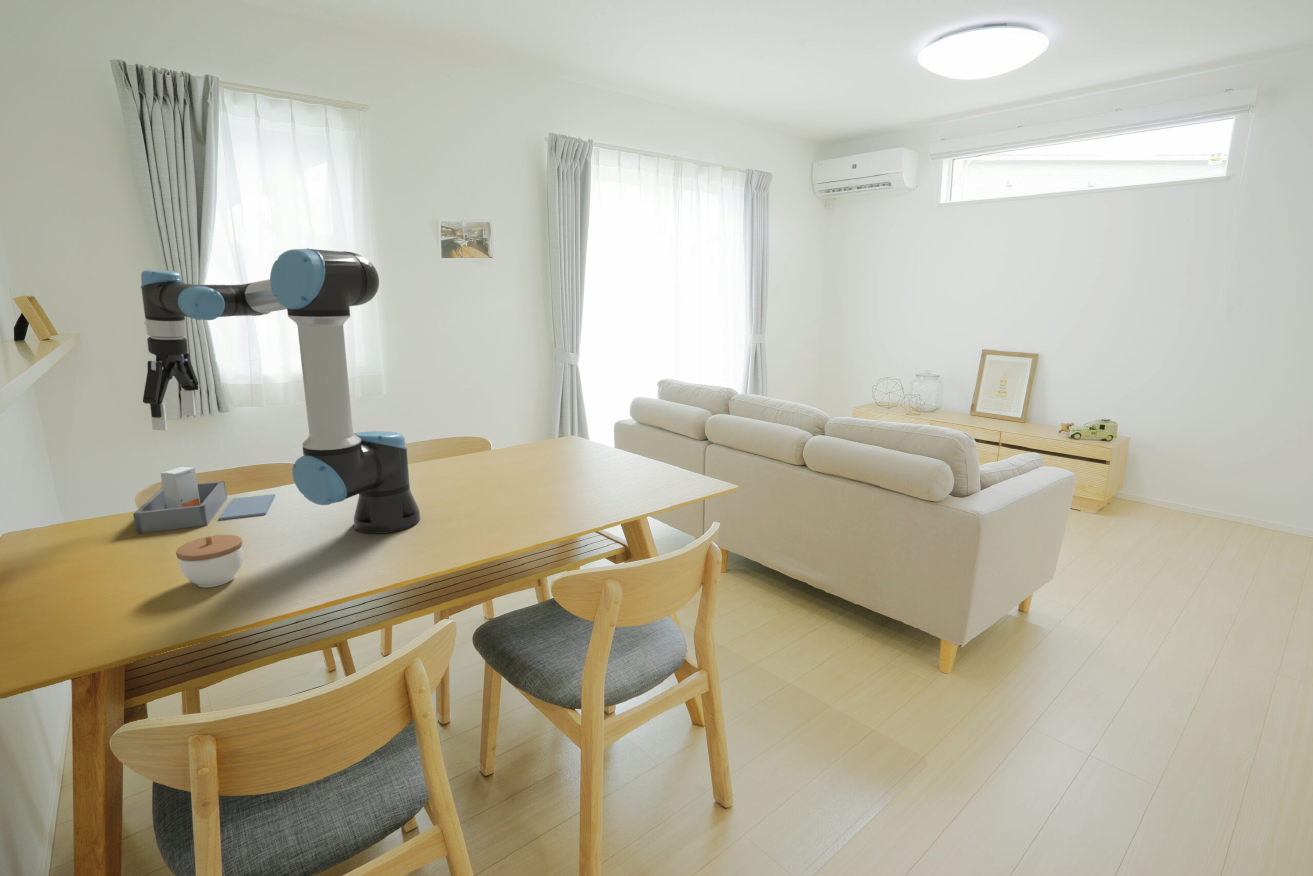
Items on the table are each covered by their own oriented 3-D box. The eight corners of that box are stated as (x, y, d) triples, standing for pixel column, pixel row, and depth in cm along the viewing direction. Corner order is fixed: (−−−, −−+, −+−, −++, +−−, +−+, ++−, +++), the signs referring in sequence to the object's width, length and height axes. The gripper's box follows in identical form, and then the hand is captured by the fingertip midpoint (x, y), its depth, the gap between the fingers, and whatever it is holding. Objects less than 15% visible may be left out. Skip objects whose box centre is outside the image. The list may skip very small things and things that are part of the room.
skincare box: (181, 519, 159) (173, 474, 156) (167, 518, 159) (159, 472, 157) (203, 511, 164) (195, 467, 162) (189, 510, 165) (181, 466, 162)
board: (265, 514, 162) (265, 512, 162) (219, 520, 158) (219, 517, 158) (275, 496, 176) (275, 494, 176) (233, 500, 173) (233, 498, 172)
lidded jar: (204, 569, 131) (196, 527, 129) (258, 568, 132) (251, 526, 129) (169, 594, 120) (160, 548, 118) (228, 592, 121) (220, 547, 119)
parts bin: (207, 525, 155) (204, 506, 154) (137, 533, 149) (133, 513, 148) (227, 498, 174) (224, 480, 173) (165, 504, 169) (162, 486, 168)
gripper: (176, 328, 161) (184, 408, 167) (116, 343, 138) (127, 435, 144) (209, 331, 163) (216, 410, 169) (155, 346, 139) (165, 437, 145)
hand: (175, 422), depth 156 cm, fingers open, 13 cm apart
